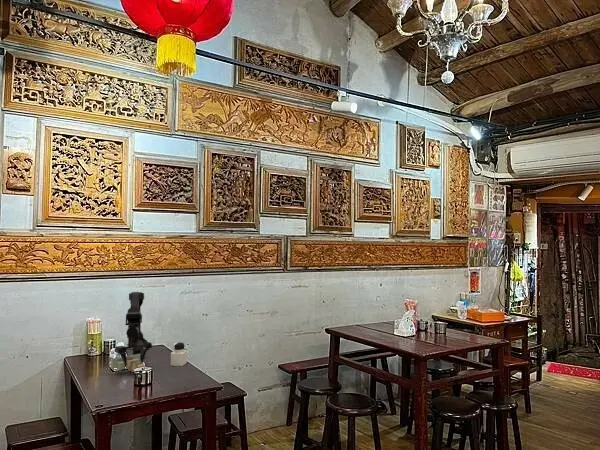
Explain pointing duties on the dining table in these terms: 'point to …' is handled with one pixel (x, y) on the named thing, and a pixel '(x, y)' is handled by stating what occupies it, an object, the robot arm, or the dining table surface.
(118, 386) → the dining table surface
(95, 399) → the dining table surface
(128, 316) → the robot arm
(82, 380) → the dining table surface
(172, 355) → the medicine bottle
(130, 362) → the rail
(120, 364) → the grey block
